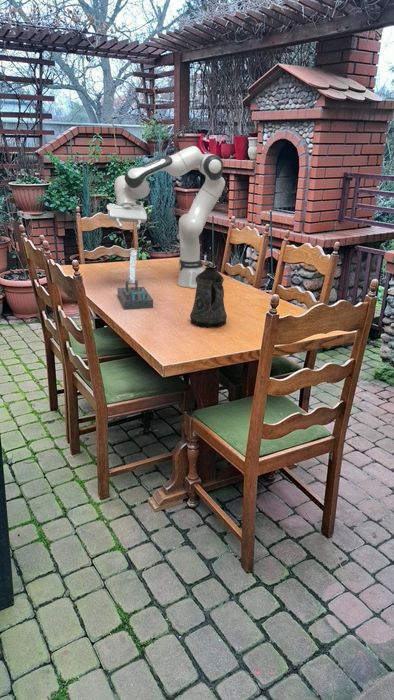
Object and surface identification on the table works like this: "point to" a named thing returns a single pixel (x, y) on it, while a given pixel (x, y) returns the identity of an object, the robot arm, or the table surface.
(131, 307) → the grey mechanical fixture
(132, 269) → the silver long bar
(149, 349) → the table surface
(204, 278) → the beer stein
